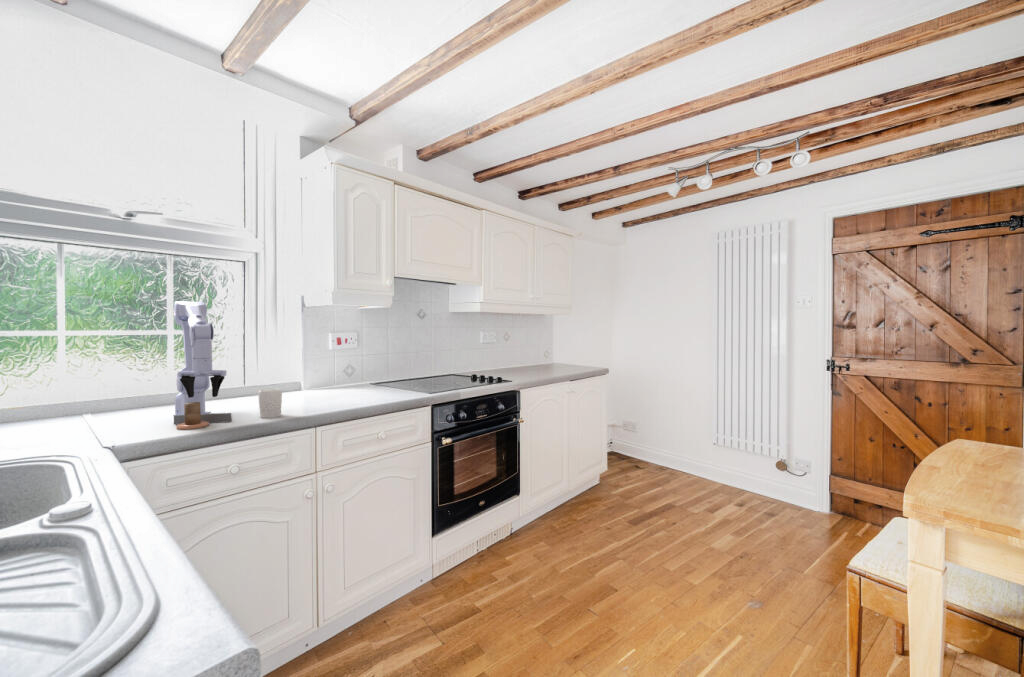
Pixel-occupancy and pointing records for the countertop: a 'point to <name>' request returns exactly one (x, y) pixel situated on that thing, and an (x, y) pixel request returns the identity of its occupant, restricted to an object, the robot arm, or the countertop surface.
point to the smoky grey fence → (206, 418)
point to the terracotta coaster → (192, 426)
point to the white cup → (270, 403)
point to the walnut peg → (192, 413)
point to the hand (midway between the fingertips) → (203, 396)
